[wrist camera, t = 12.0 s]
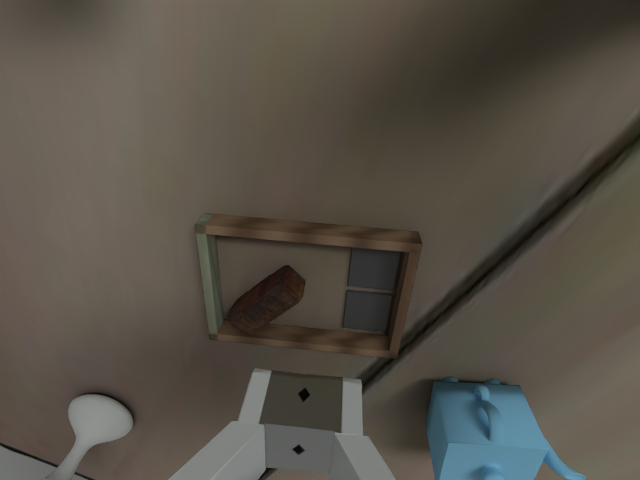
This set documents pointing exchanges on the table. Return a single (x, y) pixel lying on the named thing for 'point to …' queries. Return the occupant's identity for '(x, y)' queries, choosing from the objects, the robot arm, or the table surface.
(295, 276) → the brick
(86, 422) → the flower in vase
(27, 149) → the table surface
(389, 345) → the box
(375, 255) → the trap pits
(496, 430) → the teapot
